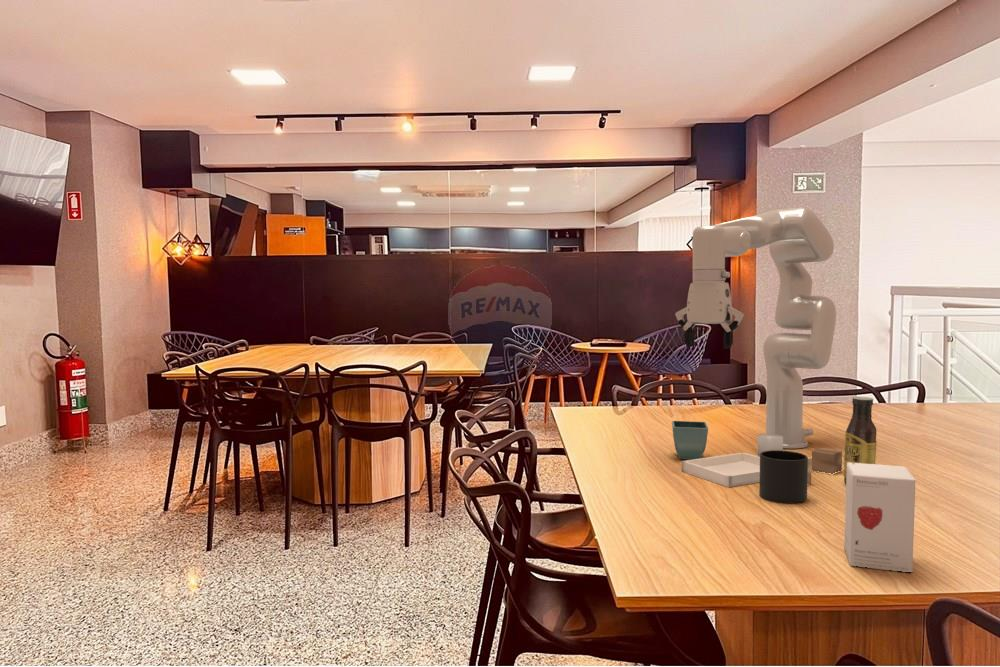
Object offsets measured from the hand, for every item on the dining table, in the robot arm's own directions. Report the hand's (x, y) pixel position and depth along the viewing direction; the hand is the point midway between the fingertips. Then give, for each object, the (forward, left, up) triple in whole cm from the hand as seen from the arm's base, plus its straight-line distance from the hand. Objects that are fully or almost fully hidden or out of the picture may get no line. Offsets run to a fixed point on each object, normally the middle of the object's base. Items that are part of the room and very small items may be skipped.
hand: (708, 347), depth 172 cm
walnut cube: (-23, +15, -30) cm, 41 cm away
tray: (-2, +7, -30) cm, 31 cm away
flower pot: (-3, -11, -30) cm, 32 cm away
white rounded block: (-17, +3, -30) cm, 35 cm away
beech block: (-9, +19, -30) cm, 37 cm away
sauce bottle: (-19, +27, -30) cm, 45 cm away
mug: (+2, +25, -30) cm, 40 cm away
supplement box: (+17, +58, -30) cm, 68 cm away
